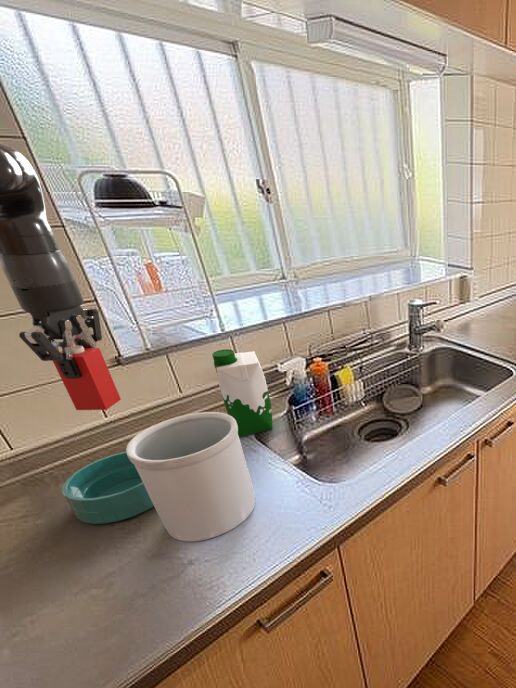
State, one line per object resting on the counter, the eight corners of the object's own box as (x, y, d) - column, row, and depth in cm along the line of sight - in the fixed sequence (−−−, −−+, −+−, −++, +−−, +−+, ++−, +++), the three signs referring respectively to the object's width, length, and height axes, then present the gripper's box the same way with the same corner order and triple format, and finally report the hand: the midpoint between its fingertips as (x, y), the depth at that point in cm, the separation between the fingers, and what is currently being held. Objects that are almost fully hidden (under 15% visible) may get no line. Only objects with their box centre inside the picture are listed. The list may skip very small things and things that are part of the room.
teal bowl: (54, 528, 72) (38, 502, 69) (113, 474, 85) (101, 450, 82) (146, 524, 74) (133, 498, 71) (190, 472, 87) (181, 448, 84)
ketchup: (76, 410, 78) (48, 352, 73) (92, 399, 82) (66, 343, 76) (106, 409, 79) (81, 352, 74) (121, 399, 83) (97, 343, 77)
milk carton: (231, 422, 103) (209, 347, 94) (272, 413, 108) (255, 341, 98) (234, 440, 97) (211, 362, 87) (278, 430, 101) (260, 354, 92)
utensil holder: (151, 513, 76) (115, 433, 68) (241, 475, 87) (219, 402, 78) (176, 560, 68) (138, 475, 60) (272, 512, 78) (250, 434, 70)
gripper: (52, 268, 75) (90, 356, 83) (-28, 290, 63) (26, 390, 70) (99, 270, 76) (132, 356, 84) (31, 291, 64) (77, 390, 71)
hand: (84, 371), depth 77 cm, fingers closed on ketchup, 4 cm apart
